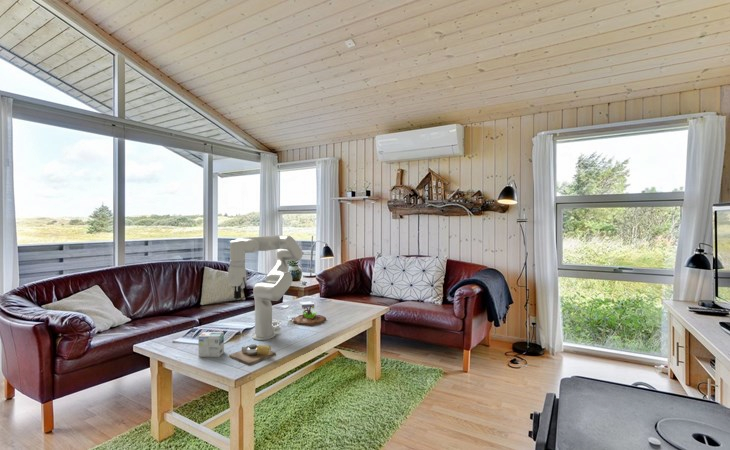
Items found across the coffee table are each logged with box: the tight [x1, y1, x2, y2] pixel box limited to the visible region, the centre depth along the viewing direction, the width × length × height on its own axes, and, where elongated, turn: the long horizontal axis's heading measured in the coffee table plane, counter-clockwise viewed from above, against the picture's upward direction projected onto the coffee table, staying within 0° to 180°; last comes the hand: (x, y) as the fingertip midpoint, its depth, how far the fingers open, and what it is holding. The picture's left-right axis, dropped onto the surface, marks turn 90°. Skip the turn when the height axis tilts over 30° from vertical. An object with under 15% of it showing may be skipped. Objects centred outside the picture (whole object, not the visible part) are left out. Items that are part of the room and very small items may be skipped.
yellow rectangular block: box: [241, 344, 272, 355], centre depth 184 cm, size 15×6×4 cm, turn 78°
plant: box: [292, 305, 327, 327], centre depth 242 cm, size 20×20×11 cm
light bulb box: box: [197, 331, 225, 358], centre depth 185 cm, size 11×7×11 cm, turn 92°
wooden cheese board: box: [229, 343, 277, 366], centre depth 184 cm, size 16×16×5 cm
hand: (237, 298), depth 192 cm, fingers closed
